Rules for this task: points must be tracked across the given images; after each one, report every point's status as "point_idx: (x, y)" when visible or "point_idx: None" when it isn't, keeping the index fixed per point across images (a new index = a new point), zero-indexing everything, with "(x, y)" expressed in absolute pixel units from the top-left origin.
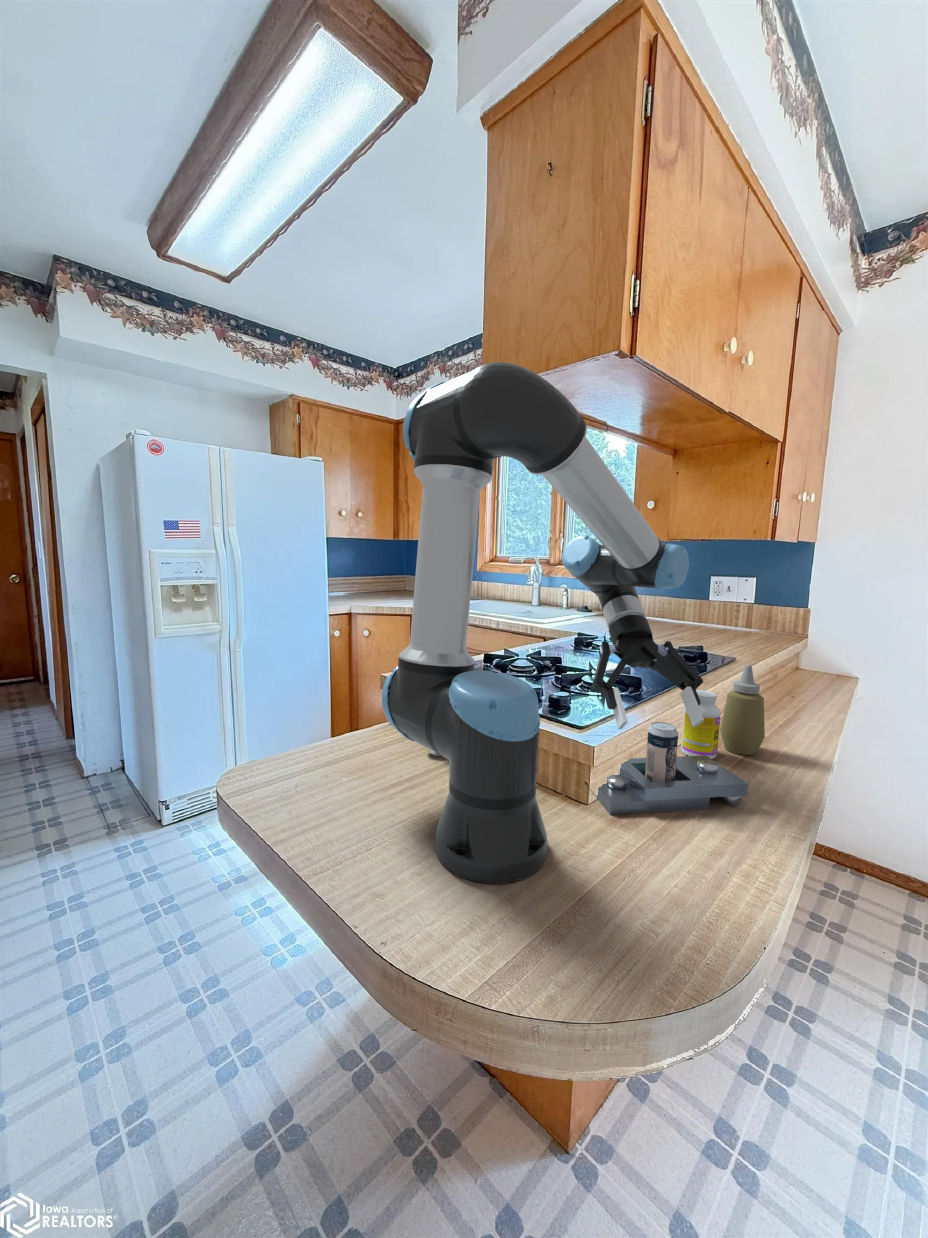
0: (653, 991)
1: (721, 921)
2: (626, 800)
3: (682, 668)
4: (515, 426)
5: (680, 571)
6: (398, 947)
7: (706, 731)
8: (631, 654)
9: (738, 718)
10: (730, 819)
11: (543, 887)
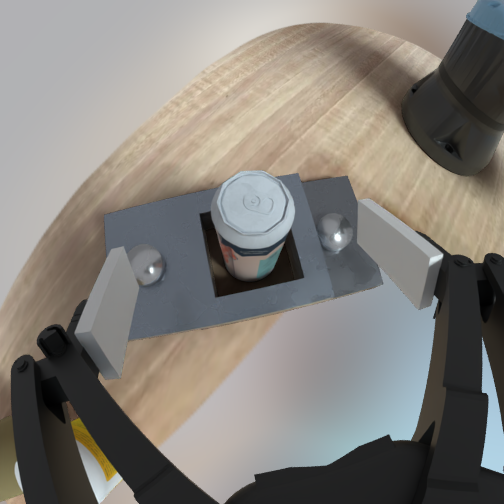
0: (321, 29)
1: (262, 55)
2: (323, 182)
3: (52, 441)
4: None
5: None
6: None
7: (81, 424)
8: (442, 449)
9: (10, 443)
10: (163, 191)
11: (394, 85)
